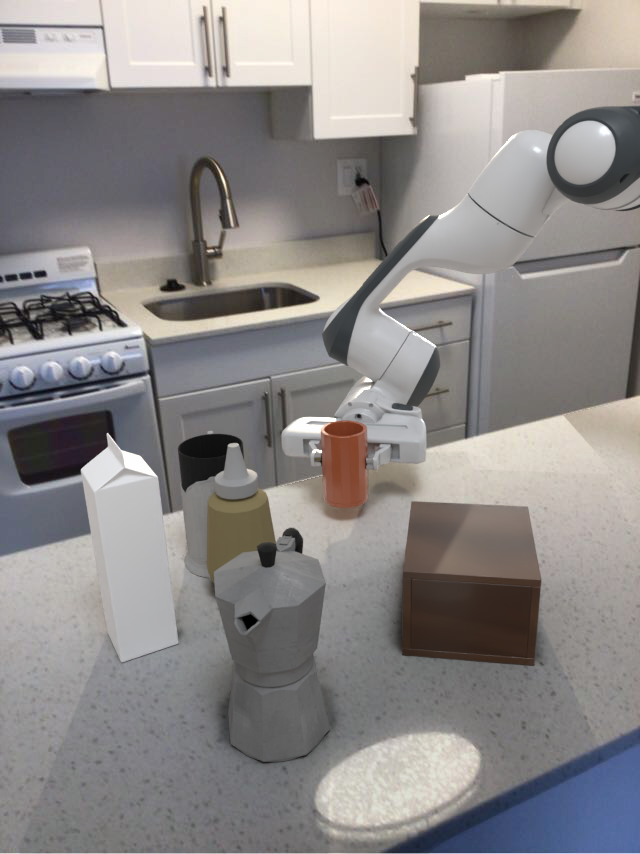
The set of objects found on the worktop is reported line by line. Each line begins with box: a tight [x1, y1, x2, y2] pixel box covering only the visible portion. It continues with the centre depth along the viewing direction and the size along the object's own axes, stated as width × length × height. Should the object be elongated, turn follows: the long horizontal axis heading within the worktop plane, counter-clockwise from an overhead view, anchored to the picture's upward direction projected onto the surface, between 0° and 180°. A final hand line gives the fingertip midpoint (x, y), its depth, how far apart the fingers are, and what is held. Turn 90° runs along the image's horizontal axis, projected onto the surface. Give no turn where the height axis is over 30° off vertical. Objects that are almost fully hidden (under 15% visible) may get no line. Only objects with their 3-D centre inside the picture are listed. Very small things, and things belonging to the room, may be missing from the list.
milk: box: [80, 432, 179, 663], centre depth 74 cm, size 6×6×22 cm
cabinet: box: [401, 500, 542, 667], centre depth 78 cm, size 15×13×10 cm
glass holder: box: [177, 430, 245, 579], centre depth 92 cm, size 9×14×15 cm, turn 9°
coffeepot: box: [213, 527, 331, 763], centre depth 64 cm, size 15×9×18 cm, turn 167°
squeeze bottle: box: [207, 443, 277, 584], centre depth 83 cm, size 8×8×18 cm
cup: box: [321, 420, 369, 509], centre depth 100 cm, size 6×6×10 cm
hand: (343, 463), depth 99 cm, fingers closed on cup, 6 cm apart
